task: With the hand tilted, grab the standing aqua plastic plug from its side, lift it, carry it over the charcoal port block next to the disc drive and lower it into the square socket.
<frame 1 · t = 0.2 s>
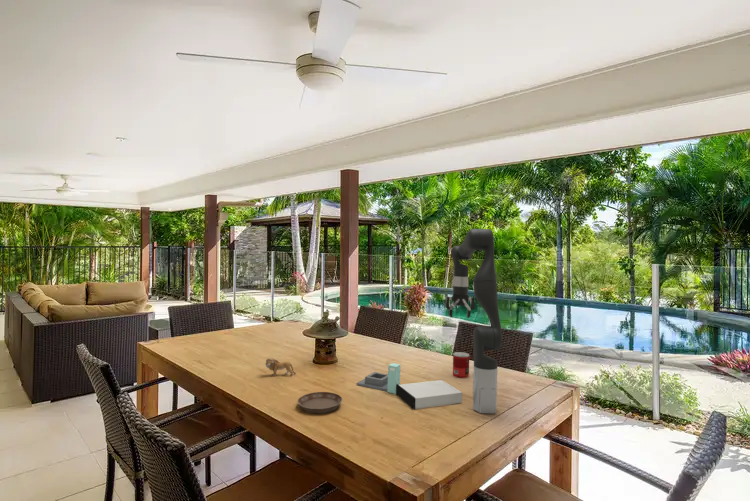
hand: (459, 317, 214), 29 cm above the table, tool pointing down, fingers open, 8 cm apart
disc drive: (428, 400, 180), on the table
plug: (393, 391, 188), on the table
canned food: (460, 376, 213), on the table
plant saucer: (319, 407, 169), on the table
lion figurine: (279, 376, 207), on the table
port block: (378, 384, 197), on the table
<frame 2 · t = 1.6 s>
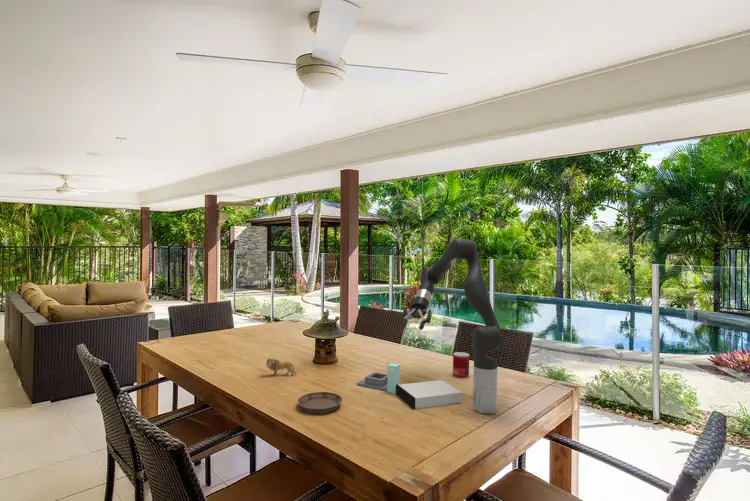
hand: (411, 327, 198), 27 cm above the table, tool tilted 45°, fingers open, 8 cm apart
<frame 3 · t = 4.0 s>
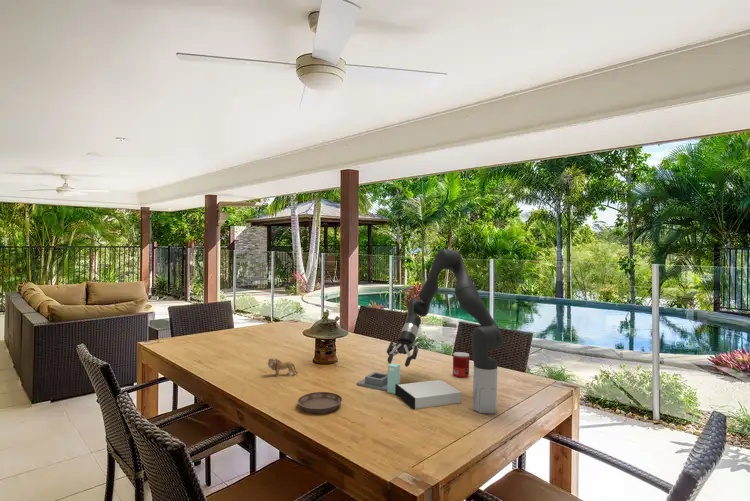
hand: (397, 364, 192), 11 cm above the table, tool tilted 45°, fingers open, 8 cm apart
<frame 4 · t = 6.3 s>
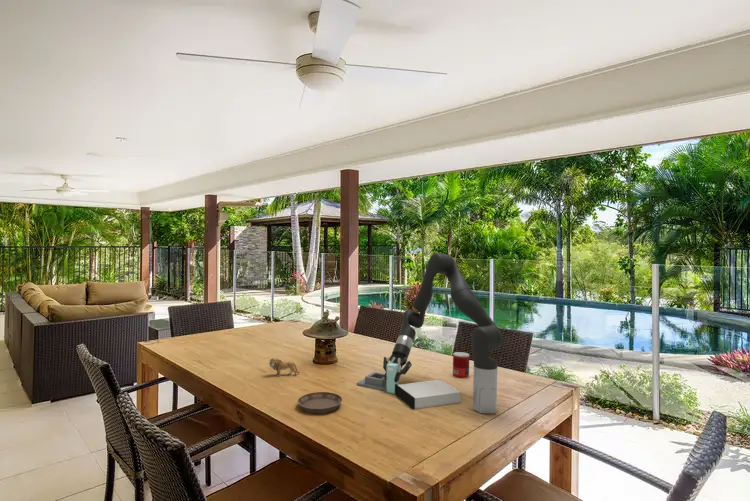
hand: (390, 380, 186), 6 cm above the table, tool tilted 45°, fingers closed on plug, 4 cm apart
plug: (392, 391, 188), on the table, touching gripper, port block
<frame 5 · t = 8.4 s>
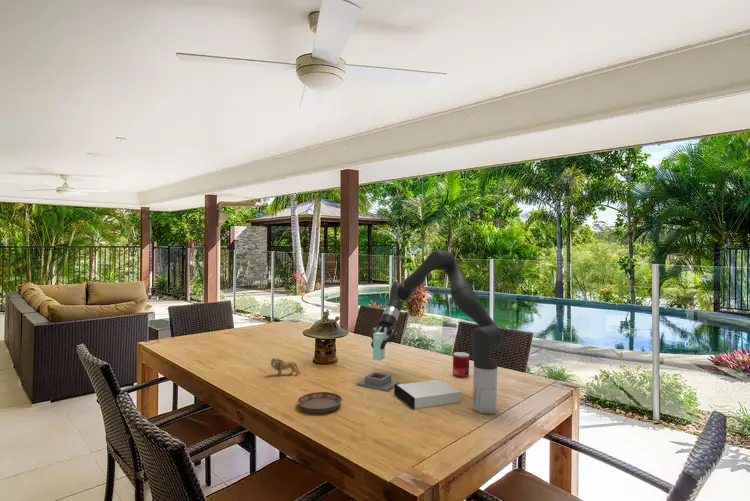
hand: (377, 347, 195), 18 cm above the table, tool tilted 45°, fingers closed on plug, 4 cm apart
plug: (378, 358, 197), point 12 cm above the table, touching gripper
when the fingers open (8 cm above the table, at t = 10.9 s): plug drops 1 cm, resting on port block.
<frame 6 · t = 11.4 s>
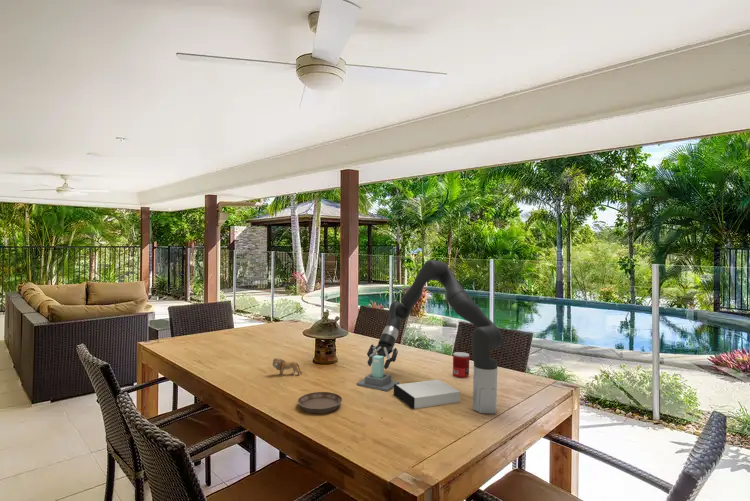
hand: (377, 366, 196), 9 cm above the table, tool tilted 45°, fingers open, 8 cm apart
plug: (377, 382, 197), point 1 cm above the table, touching port block
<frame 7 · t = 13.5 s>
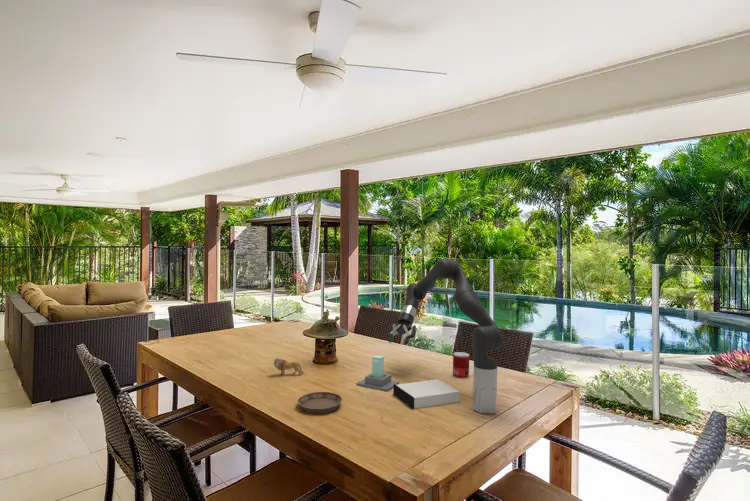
hand: (397, 342, 206), 17 cm above the table, tool tilted 45°, fingers open, 8 cm apart
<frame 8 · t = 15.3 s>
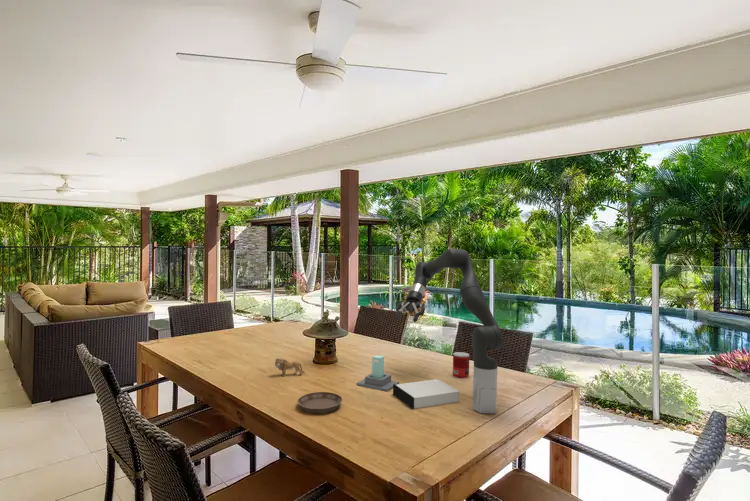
hand: (406, 320, 205), 29 cm above the table, tool tilted 45°, fingers open, 8 cm apart
at the end: plug 0.1 cm off-centre on the port block, point 1.0 cm above the port block's base; plug tilted 0°; the gripper is holding nothing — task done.
